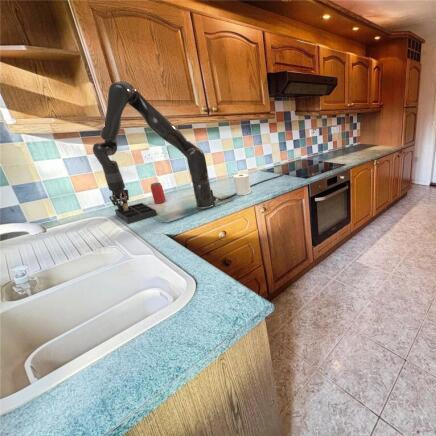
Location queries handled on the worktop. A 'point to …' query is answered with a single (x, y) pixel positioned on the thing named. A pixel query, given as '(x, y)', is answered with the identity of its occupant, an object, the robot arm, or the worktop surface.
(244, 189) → the toilet paper
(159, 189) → the beer can
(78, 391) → the worktop surface
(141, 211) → the grid
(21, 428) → the worktop surface
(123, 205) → the token
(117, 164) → the robot arm
